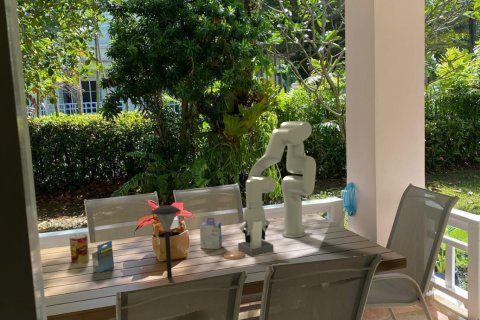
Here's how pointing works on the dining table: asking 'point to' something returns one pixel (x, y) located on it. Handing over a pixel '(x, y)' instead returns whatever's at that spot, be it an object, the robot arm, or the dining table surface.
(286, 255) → the dining table surface
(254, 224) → the drinking glass
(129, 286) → the dining table surface
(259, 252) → the bin
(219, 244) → the ink cartridge box
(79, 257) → the canned food
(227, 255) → the coaster
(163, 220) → the solar garden light
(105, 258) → the label tape cartridge
